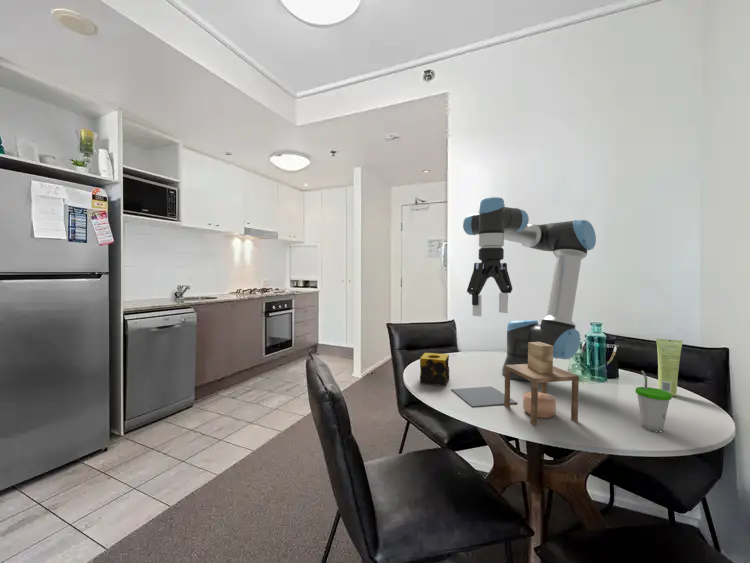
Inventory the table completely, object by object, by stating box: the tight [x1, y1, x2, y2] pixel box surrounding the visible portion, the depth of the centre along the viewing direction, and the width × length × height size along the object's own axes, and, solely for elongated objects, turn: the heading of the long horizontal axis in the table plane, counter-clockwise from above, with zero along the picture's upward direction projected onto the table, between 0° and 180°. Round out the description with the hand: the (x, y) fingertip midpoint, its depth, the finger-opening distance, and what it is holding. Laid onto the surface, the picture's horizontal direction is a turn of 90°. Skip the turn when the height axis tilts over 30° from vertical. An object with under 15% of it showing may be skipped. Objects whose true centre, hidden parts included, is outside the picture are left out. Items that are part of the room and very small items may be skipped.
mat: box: [450, 386, 518, 408], centre depth 118 cm, size 16×16×1 cm
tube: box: [655, 338, 684, 397], centre depth 122 cm, size 6×5×20 cm
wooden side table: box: [504, 342, 580, 426], centre depth 104 cm, size 14×14×21 cm
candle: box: [419, 352, 450, 387], centre depth 135 cm, size 10×10×10 cm
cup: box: [635, 370, 673, 433], centre depth 95 cm, size 8×8×15 cm
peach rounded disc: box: [522, 391, 557, 419], centre depth 105 cm, size 9×9×5 cm
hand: (490, 314), depth 110 cm, fingers open, 13 cm apart
